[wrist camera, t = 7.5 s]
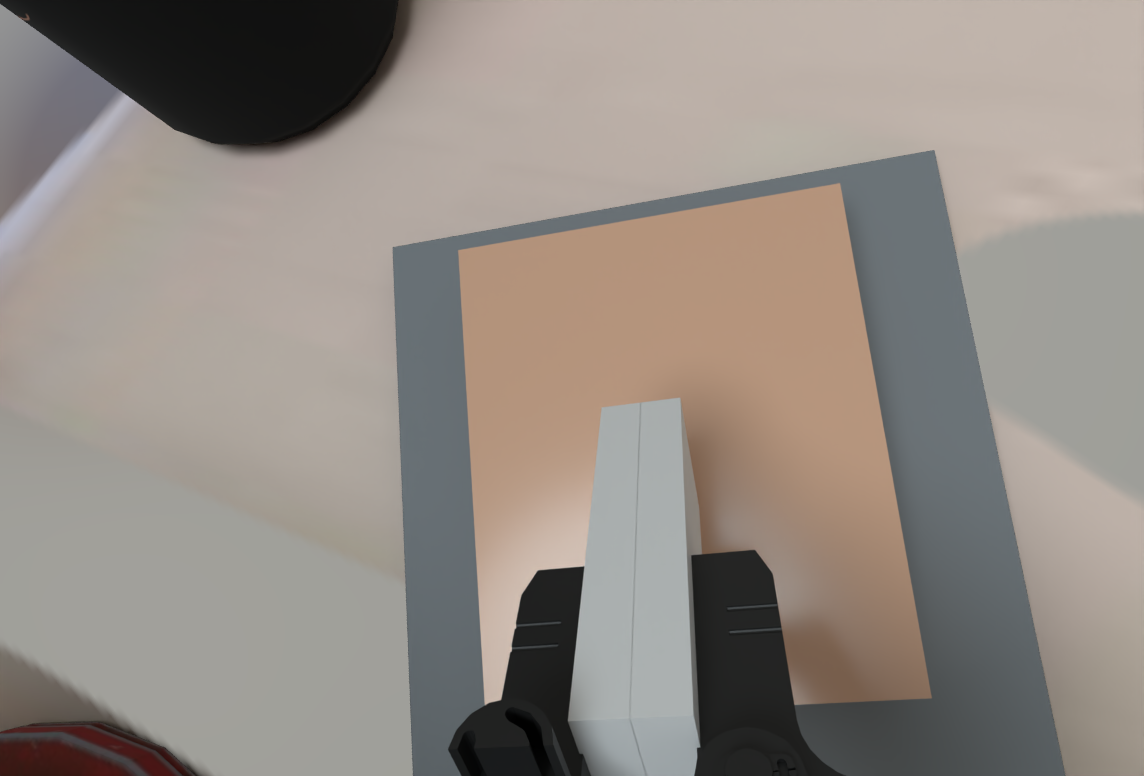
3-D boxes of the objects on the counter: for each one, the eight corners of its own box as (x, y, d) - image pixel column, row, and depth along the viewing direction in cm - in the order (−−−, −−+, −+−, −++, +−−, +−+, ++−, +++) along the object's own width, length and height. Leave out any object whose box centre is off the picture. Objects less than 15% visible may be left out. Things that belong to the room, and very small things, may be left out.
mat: (1089, 960, 18) (1109, 984, 17) (435, 951, 21) (420, 970, 20) (925, 167, 22) (934, 150, 21) (406, 258, 25) (392, 247, 24)
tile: (931, 698, 16) (840, 182, 19) (485, 719, 18) (458, 250, 21) (909, 679, 19) (829, 221, 21) (514, 700, 21) (486, 279, 23)
